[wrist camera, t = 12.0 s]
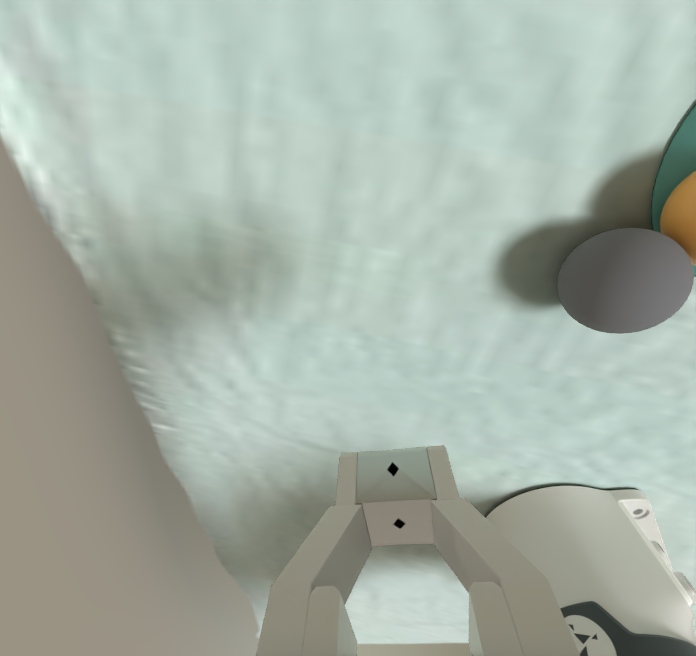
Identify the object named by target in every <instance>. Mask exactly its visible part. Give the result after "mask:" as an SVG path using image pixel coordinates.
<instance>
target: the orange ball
mask: <svg viewBox="0 0 696 656" xmlns="http://www.w3.org/2000/svg"><path fill="white" fill-rule="evenodd" d="M660 231H661V233H662V234H664V235H666V236H668V237H670V238H671V239H673V240H675V241H676V242H677V243H678V244H679V245H680V246H682V248H683V249H684V250H685V251H686V253H687V254H688V256H689V258H690V260H691V263H692V265H695V266H696V171H694V172H693V173H691V174H690V175H689V176H688V177H686V178H685V179H684V180H683V181H682V182H681V183H680V184H679V185H678V186H677V187H676V188H675V189H674V190H673V192H672V193H671V195H670V196H669V198H668V199H667V201H666V203H665V205H664V207H663V210H662V213H661V217H660Z"/></svg>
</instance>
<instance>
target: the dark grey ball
mask: <svg viewBox="0 0 696 656" xmlns="http://www.w3.org/2000/svg"><path fill="white" fill-rule="evenodd" d="M693 279H694V272H693V266H692V263H691V260H690V258H689V256H688V254H687V253H686V251H685V250H684V249H683V248H682V246H680V245H679V244H678V243H677V242H676V241H675V240H673V239H671V238H670V237H668V236H666V235H664V234H662V233H659V232H656V231H653V230H649V229H643V228H620V229H614V230H610V231H606V232H603V233H600V234H597V235H595V236H593V237H591V238H589V239H587V240H586V241H584V242H583V243H581V244H580V245H579V246H577V247H576V248H575V249H574V250H573V251H572V252H571V253H570V254H569V255H568V257H567V258H566V260H565V261H564V263H563V265H562V266H561V269H560V271H559V274H558V280H557V291H558V296H559V299H560V302H561V304H562V305H563V307H564V309H565V310H566V311H567V313H568V314H569V315H570V316H571V317H572V318H573V319H575V320H576V321H578V322H579V323H581V324H583V325H585V326H586V327H589V328H591V329H594V330H597V331H601V332H607V333H632V332H638V331H642V330H646V329H648V328H651V327H654V326H656V325H658V324H660V323H662V322H664V321H665V320H667V319H668V318H670V317H671V316H672V315H674V314H675V313H676V312H677V311H678V310H679V309H680V308H681V307H682V305H683V304H684V303H685V301H686V300H687V298H688V296H689V294H690V292H691V289H692V285H693Z"/></svg>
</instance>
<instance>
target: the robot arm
mask: <svg viewBox="0 0 696 656" xmlns="http://www.w3.org/2000/svg"><path fill="white" fill-rule="evenodd" d="M402 543H403V544H435V547H436V548H437V549H438V551H439V552H440V554H441V555H442V556H443V558H444V559H445V561H446V562H447V563H448V565H449V566H450V568H451V569H452V570H453V572H454V573H455V575H456V576H457V577H458V579H459V580H460V582H461V583H462V584H463V586H464V587H465V589H466V590H467V591H468V593H469V645H470V649H471V655H472V656H696V635H695V630H694V626H693V619H694V614H693V612H692V610H691V608H690V606H691V605H694V604H696V591H695V589H694V588H693V586H692V585H691V584H690V582H689V581H688V580H687V578H686V577H685V576H684V575H683V573H681V572H674V573H673V572H672V571H673V569H672V565H671V562H670V560H669V557H668V554H667V551H666V548H665V545H664V542H663V539H662V536H661V533H660V530H659V528H658V525H657V522H656V519H655V516H654V513H653V510H652V507H651V504H650V502H649V501H648V499H647V498H646V496H645V495H644V493H643V492H642V491H640V490H634V489H627V490H612V491H606V490H598V489H593V488H588V487H581V486H554V487H547V488H541V489H537V490H533V491H529V492H526V493H523V494H520V495H518V496H515V497H513V498H511V499H509V500H507V501H505V502H504V503H502V504H501V505H499V506H498V507H496V508H495V509H494V510H493V511H492V512H491V513H490V514H489V515H488V516H487V517H486V518H485V517H484V516H483V515H482V514H481V513H480V512H479V511H478V510H477V509H476V508H475V507H474V506H473V505H472V504H471V503H470V502H469V501H468V500H467V499H466V498H459V495H458V491H457V487H456V484H455V480H454V476H453V473H452V469H451V465H450V462H449V458H448V454H447V451H446V448H445V446H444V445H442V446H430V447H416V448H405V449H394V450H387V451H368V452H353V453H341V455H340V458H339V468H338V479H337V490H336V501H335V506H330V507H329V508H328V509H327V511H326V512H325V514H324V515H323V516H322V518H321V519H320V520H319V522H318V523H317V524H316V526H315V527H314V529H313V530H312V531H311V533H310V534H309V535H308V537H307V538H306V539H305V541H304V542H303V543H302V545H301V546H300V548H299V549H298V550H297V552H296V553H295V554H294V556H293V557H292V558H291V560H290V561H289V563H288V564H287V565H286V567H285V568H284V569H283V571H282V572H281V573H280V575H279V576H278V578H277V579H276V580H275V582H274V583H273V584H272V586H271V590H270V595H269V599H268V604H267V608H266V612H265V617H264V621H263V626H262V630H261V635H260V639H259V643H258V648H257V652H256V656H357V640H356V638H355V635H354V632H353V629H352V626H351V623H350V620H349V617H348V614H347V611H346V609H345V606H344V605H345V603H346V601H347V599H348V597H349V595H350V593H351V591H352V589H353V587H354V585H355V582H356V580H357V578H358V576H359V574H360V572H361V570H362V568H363V566H364V564H365V562H366V560H367V558H368V556H369V553H370V551H371V549H372V548H371V546H385V545H399V544H402Z"/></svg>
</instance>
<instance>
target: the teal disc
mask: <svg viewBox="0 0 696 656" xmlns="http://www.w3.org/2000/svg"><path fill="white" fill-rule="evenodd" d="M694 171H696V105H695V106H694V107H693V109H692V110H691V112H690V113H689V114H688V116H687V117H686V118H685V120H684V121H683V123H682V125H681V126H680V128H679V129H678V131H677V133H676V134H675V136H674V138H673V139H672V141H671V143H670V145H669V148H668V150H667V152H666V154H665V156H664V158H663V160H662V163H661V166H660V169H659V172H658V174H657V178H656V182H655V186H654V190H653V196H652V206H651V214H652V225H653V230H654V231H656V232H659V233H661V231H660V217H661V213H662V210H663V207H664V205H665V203H666V201H667V199H668V198H669V196H670V195H671V193H672V192H673V190H674V189H675V188H676V187H677V186H678V185H679V184H680V183H681V182H682V181H683V180H684V179H685V178H686V177H688V176H689V175H690V174H691V173H693V172H694ZM692 266H693V272H694V276H696V266H695V265H692Z"/></svg>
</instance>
